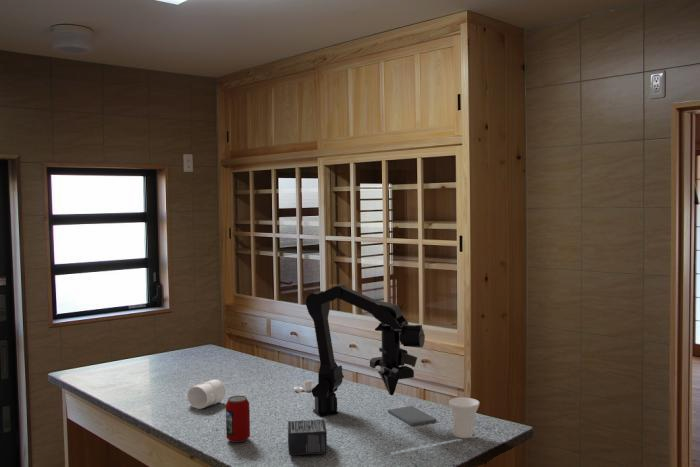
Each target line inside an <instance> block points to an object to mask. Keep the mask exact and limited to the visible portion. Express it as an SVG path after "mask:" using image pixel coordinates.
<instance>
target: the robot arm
mask: <svg viewBox="0 0 700 467" xmlns="http://www.w3.org/2000/svg"><path fill="white" fill-rule="evenodd" d="M337 299H339V300H342V301H344V302H346V303H348V304H350V305H352V306H355V307H357V308H359V309H361V310H363V311H365V312H367V313H369V314H371V315H372V317H374V319H375V320H377V321H378V322H379V324H378V325H377V326H376V327H375V328H374V331H375V332H381V347H379V349H378V350H379V351H378V352H380V353H381V356H378V357H377V356H376V357H372V358H371V359H370V360H369V368H372V369H375V368H376V367H377V366H378V367H380V368H379V369H380V370H378V372H377V373H378V374H379V376H380V378H381V380H382V382H383V384H384V387H385V388H386V391H387V392H388V394H389V396H394V394H395V392H396V388H397V384H398V382H399V380H405V379H412V378H415V370H414V369H413V368H415V367H416V363H417V361H418V357H417V356H415V355H412V354H410V353H408V350H407V349H403V348H401V345H403V347H408V348H409V347H410V348H424V345H425V340H426V336H425V335H426V334H425V331H424V329H423V325H422V324H409V322H408V321H407V319H406V318H405V316H404V315H403V313H402V309H401V307H400V306H399V305H397V304H395V303H391V302H388V301H381V300H376V299H374V298H372V297H370V296H368V295H365V294H363V293H360V292H359V291H356V290H354V289H352V288H349V287H347V286H346V285H344V284H341V283H340V284H337V285H335V286H332V287H331V288H329V289H326V290H324V291H323V290H319V291H316V292H313V293H309V294H308V295H307V296H306V298H305V307H306V310H307V312H308V315H309V316H310V318H311V319H312V321H313V325H314V326H313V327H314V333H315V338H316V345H317V351H318V357H319V369H318V374H317V377H318V379H317V381H318V383H317V384H315V387H314V386H313V387H314V388H313V387H312V388H313V389H312V390H311V393H312V394H311V395H312V397H314V408H313V409H312V411H313V412H314V413H315V414H316V415H318V416H319V417H325V416H331V415H336V414H339V411H338V398H337V395H336V393H335V392H337V391H338V388H339V387H340V386H341V385H342V383H343V379H344V378H345V376H344V374H343V366H342V365H341V364H340V365H338V364H337V363H336V360H335V356H334V349H333V343H332V336H331V330H330V323H329V314H330V310H331V302H333V301H336V300H337ZM410 366H411V367H410ZM412 367H413V368H412Z"/></svg>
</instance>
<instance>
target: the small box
mask: <svg viewBox="0 0 700 467" xmlns="http://www.w3.org/2000/svg"><path fill="white" fill-rule="evenodd" d="M327 435H328V434H327V428H326V422H325V419H312V420H311V419H309V420H289V421H288V422H287V444H288V445H287V446H288V447H287V448H288V455H289V456H291V455H293V456H295V455H296V456H297V455H314V454H315V455H317V454H327V453H328V451H327V450H328V448H327V447H328V446H327V444H328V443H327V442H328V440H327V439H328V438H327Z"/></svg>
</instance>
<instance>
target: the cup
mask: <svg viewBox="0 0 700 467" xmlns="http://www.w3.org/2000/svg"><path fill="white" fill-rule="evenodd" d="M480 403H481V402H480V401H479V400H477V399H475V398H471V397H455V398H451V399H450V400H449V401H448V404H449V406H450V410H451V415H452V418H453V420H452V421H453V435H454V437H456V438H460V439H469V438H472V437H473V435H474V423H475V422H474V420H475V418H476V415H477V411H478V409H479V407H480Z"/></svg>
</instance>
